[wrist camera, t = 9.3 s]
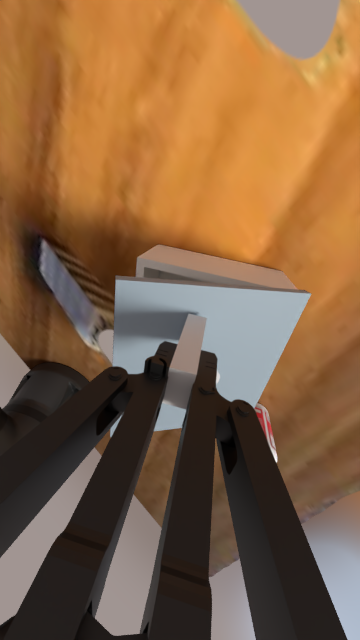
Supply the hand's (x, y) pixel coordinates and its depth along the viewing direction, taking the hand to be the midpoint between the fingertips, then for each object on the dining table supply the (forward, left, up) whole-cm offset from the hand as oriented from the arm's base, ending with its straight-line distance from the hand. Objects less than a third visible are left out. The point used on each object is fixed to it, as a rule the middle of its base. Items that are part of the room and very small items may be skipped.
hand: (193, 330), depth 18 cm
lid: (+1, -5, -2) cm, 6 cm away
